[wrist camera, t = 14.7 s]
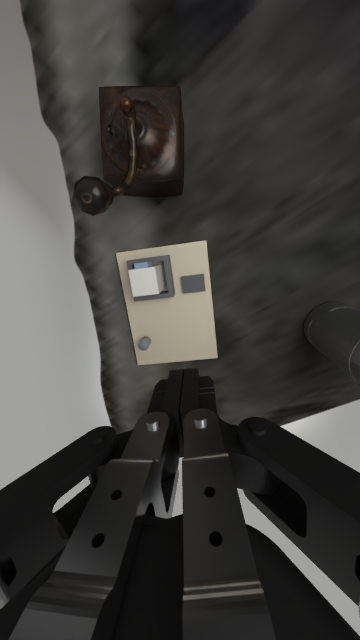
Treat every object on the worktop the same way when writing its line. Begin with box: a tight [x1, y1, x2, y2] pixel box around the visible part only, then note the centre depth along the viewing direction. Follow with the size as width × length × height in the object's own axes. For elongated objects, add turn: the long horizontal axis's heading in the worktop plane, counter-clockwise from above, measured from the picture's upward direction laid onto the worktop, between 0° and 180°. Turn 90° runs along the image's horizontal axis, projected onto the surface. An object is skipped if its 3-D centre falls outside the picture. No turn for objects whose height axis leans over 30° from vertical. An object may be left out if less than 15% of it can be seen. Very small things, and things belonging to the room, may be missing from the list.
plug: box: [128, 261, 166, 297], centre depth 39 cm, size 4×5×8 cm
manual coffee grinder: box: [73, 86, 184, 216], centre depth 31 cm, size 16×11×18 cm
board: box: [116, 240, 218, 365], centre depth 44 cm, size 16×22×4 cm
